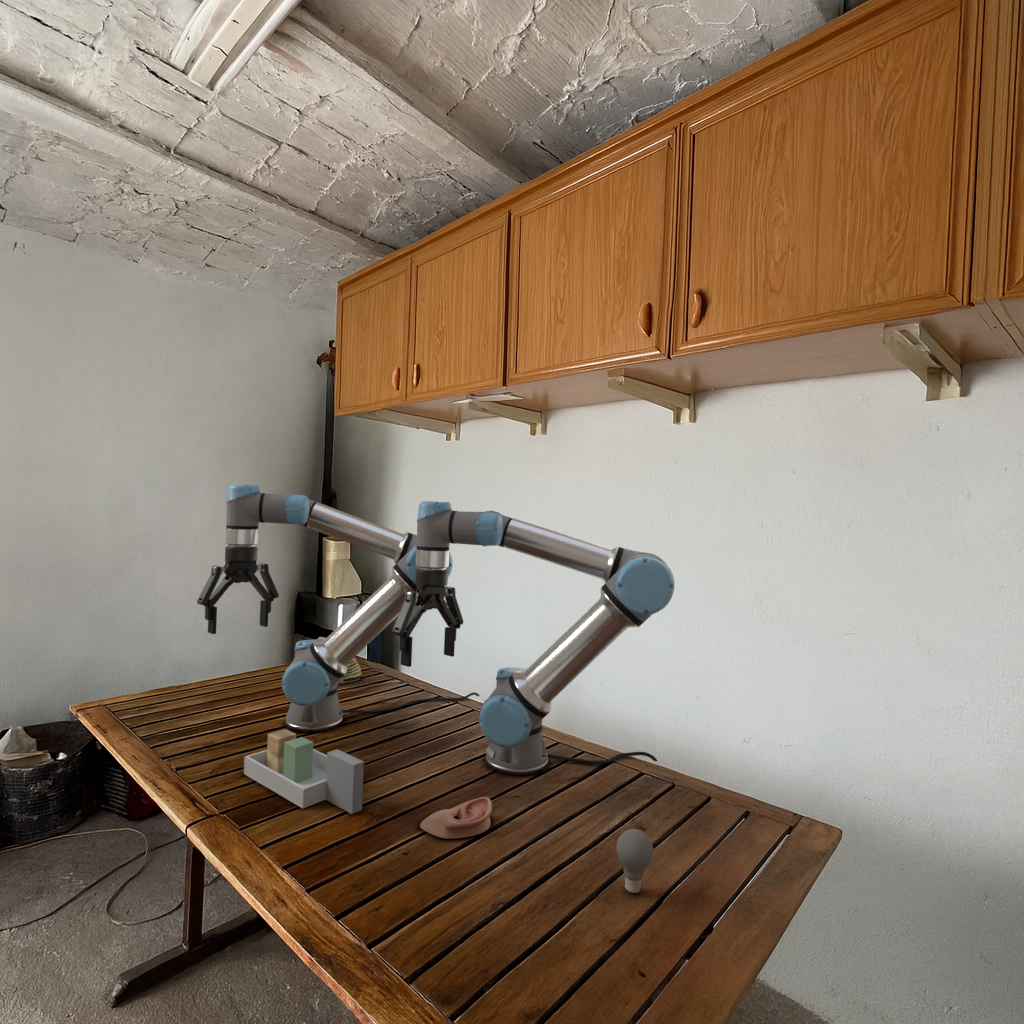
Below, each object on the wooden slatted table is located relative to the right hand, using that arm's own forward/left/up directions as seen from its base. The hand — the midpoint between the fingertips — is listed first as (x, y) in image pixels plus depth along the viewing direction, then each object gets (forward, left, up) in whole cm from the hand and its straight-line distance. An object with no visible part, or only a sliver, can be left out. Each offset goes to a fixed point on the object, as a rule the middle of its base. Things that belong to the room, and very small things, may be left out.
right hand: (428, 660), depth 146 cm
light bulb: (-17, +55, -27) cm, 63 cm away
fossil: (+4, -80, -27) cm, 85 cm away
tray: (+25, -3, -27) cm, 36 cm away
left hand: (+38, -36, +2) cm, 52 cm away
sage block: (+27, -8, -26) cm, 38 cm away
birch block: (+30, -14, -26) cm, 42 cm away
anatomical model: (+2, +24, -27) cm, 36 cm away
